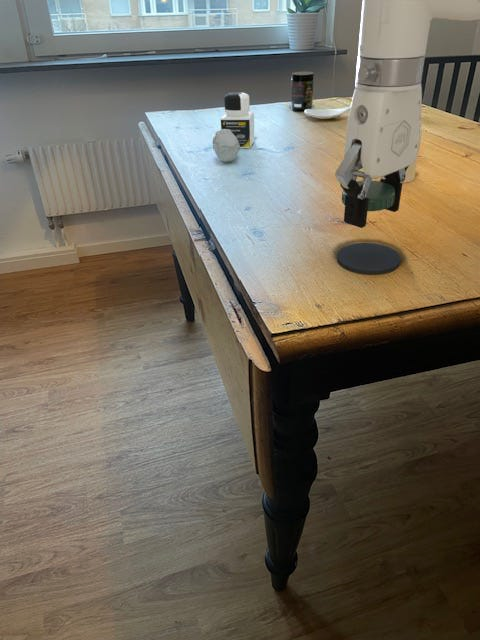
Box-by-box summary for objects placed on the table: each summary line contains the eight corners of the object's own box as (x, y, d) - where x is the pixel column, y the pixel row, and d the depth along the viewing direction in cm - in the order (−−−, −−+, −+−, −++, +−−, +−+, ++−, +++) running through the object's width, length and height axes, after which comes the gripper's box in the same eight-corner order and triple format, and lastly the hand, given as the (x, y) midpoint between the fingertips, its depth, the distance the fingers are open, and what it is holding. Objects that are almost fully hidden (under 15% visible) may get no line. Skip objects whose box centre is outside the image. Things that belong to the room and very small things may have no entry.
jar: (409, 172, 104) (417, 118, 98) (418, 182, 98) (427, 126, 93) (378, 173, 104) (384, 120, 98) (385, 183, 99) (392, 128, 93)
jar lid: (332, 199, 70) (332, 186, 69) (373, 189, 72) (374, 177, 71) (361, 215, 64) (362, 202, 63) (404, 204, 67) (406, 191, 66)
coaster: (393, 245, 76) (393, 241, 75) (406, 274, 68) (407, 270, 68) (333, 246, 76) (333, 243, 76) (340, 275, 69) (340, 271, 69)
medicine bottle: (222, 148, 124) (218, 96, 118) (227, 140, 130) (225, 90, 124) (250, 148, 123) (248, 96, 116) (254, 141, 129) (253, 90, 122)
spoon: (419, 118, 142) (421, 105, 140) (305, 123, 143) (306, 110, 141) (410, 111, 149) (412, 99, 147) (302, 116, 150) (303, 103, 148)
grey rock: (231, 155, 119) (230, 124, 115) (245, 162, 114) (244, 130, 110) (208, 160, 117) (206, 128, 113) (222, 167, 112) (220, 135, 108)
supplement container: (315, 107, 159) (316, 71, 153) (308, 112, 154) (310, 75, 148) (295, 107, 162) (295, 71, 156) (288, 111, 156) (288, 74, 151)
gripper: (371, 86, 52) (354, 244, 62) (456, 66, 61) (429, 206, 71) (315, 79, 56) (308, 227, 66) (402, 62, 66) (384, 194, 76)
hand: (371, 215), depth 69 cm, fingers closed on jar lid, 6 cm apart
